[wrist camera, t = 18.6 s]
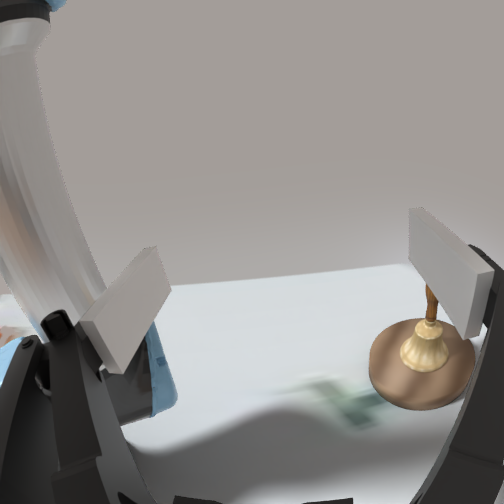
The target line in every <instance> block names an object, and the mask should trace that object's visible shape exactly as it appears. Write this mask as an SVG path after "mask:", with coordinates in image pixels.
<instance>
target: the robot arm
mask: <svg viewBox="0 0 504 504" xmlns="http://www.w3.org/2000/svg"><path fill="white" fill-rule="evenodd" d="M65 3H66V0H0V273H1V275H2V276H3V278H4V280H5V282H6V284H7V286H8V287H9V289H10V291H11V292H12V294H13V296H14V297H15V299H16V301H17V302H18V304H19V306H20V307H21V309H22V310H23V312H24V313H25V315H26V317H27V318H28V320H29V321H30V323H31V324H32V326H33V327H34V328H35V330H36V331H37V333H38V334H39V336H40V337H41V338H42V341H40V339H39V337H38V336H37V335H31V336H29V337H28V336H27V337H19V338H16V339H14V340H12V341H10V342H9V343H7V344H6V345H4V346H3V347H2V348H0V504H157V503H156V502H155V501H154V499H153V498H152V497H151V495H150V493H149V491H148V489H147V487H146V485H145V483H144V481H143V479H142V477H141V475H140V473H139V470H138V468H137V466H136V464H135V462H134V459H133V457H132V455H131V452H130V450H129V448H128V445H127V443H126V440H125V438H124V435H123V433H122V430H121V427H120V426H122V425H126V424H129V423H133V422H136V421H139V420H142V419H145V418H151V417H154V416H155V415H156V414H157V413H160V412H162V411H164V410H167V409H169V408H171V407H173V406H174V405H175V403H176V401H177V398H178V394H177V390H176V387H175V384H174V381H173V378H172V375H171V372H170V369H169V366H168V364H167V361H166V358H165V354H164V352H163V348H162V345H161V342H160V338H159V335H158V332H157V329H156V326H155V323H154V319H155V317H156V316H157V314H158V312H159V310H160V309H161V307H162V305H163V304H164V302H165V300H166V299H167V297H168V295H169V294H170V292H171V287H170V285H169V282H168V279H167V276H166V274H165V271H164V268H163V265H162V262H161V259H160V256H159V253H158V250H157V248H156V246H155V247H149V248H144V249H143V250H142V251H141V252H140V253H139V254H138V255H137V256H136V257H135V258H134V260H133V261H132V262H131V263H130V264H129V265H128V266H127V267H126V268H125V269H124V270H123V271H122V272H121V274H120V275H119V276H118V277H117V278H116V279H115V280H114V281H113V282H112V283H111V285H110V286H109V287H108V288H107V287H106V285H105V283H104V281H103V279H102V277H101V274H100V272H99V270H98V268H97V265H96V263H95V261H94V259H93V256H92V254H91V252H90V249H89V247H88V244H87V242H86V240H85V237H84V235H83V232H82V230H81V227H80V224H79V222H78V219H77V217H76V214H75V211H74V208H73V206H72V203H71V200H70V197H69V194H68V191H67V188H66V185H65V182H64V179H63V176H62V173H61V170H60V166H59V163H58V160H57V156H56V153H55V149H54V146H53V142H52V138H51V134H50V130H49V126H48V122H47V118H46V113H45V108H44V104H43V99H42V94H41V88H40V83H39V77H38V71H37V64H36V57H35V55H36V53H37V50H38V49H39V47H40V46H41V45H42V43H43V42H44V40H45V39H46V38H47V36H48V35H49V33H50V18H49V12H50V11H51V12H55V11H57V10H58V9H59V8H60V7H62V6H63V5H65ZM409 260H410V261H411V263H412V264H413V265H414V267H415V268H416V270H417V271H418V272H419V274H420V275H421V277H422V278H423V279H424V281H425V282H426V284H427V285H428V287H429V288H430V289H431V291H432V292H433V294H434V295H435V297H436V298H437V300H438V301H439V303H440V304H441V306H442V307H443V309H444V310H445V312H446V313H447V315H448V317H449V318H450V320H451V321H452V323H453V325H454V326H455V328H456V329H457V331H458V333H459V334H460V336H461V338H462V339H463V340H465V339H469V338H472V337H476V336H479V334H480V331H481V327H482V324H483V323H484V324H485V326H486V327H487V333H486V336H485V339H484V342H483V345H482V348H481V351H480V352H481V354H480V357H479V360H478V363H477V367H476V370H475V373H474V376H473V378H472V381H471V384H470V387H469V390H468V392H467V395H466V397H465V400H464V402H463V405H462V407H461V410H460V412H459V415H458V417H457V419H456V421H455V424H454V426H453V428H452V430H451V432H450V435H449V437H448V439H447V441H446V443H445V445H444V447H443V449H442V451H441V453H440V454H439V456H438V458H437V460H436V462H435V464H434V466H433V467H432V469H431V471H430V473H429V474H428V476H427V478H426V479H425V481H424V483H423V484H422V486H421V488H420V489H419V491H418V492H417V494H416V495H415V497H414V498H413V499H412V501H411V502H410V503H409V504H494V502H495V499H496V497H497V495H498V492H499V490H500V488H501V485H502V483H503V480H504V465H503V460H504V270H503V269H502V268H501V267H499V266H498V265H497V264H496V263H495V262H494V261H493V260H491V258H489V256H486V254H485V253H484V252H483V251H482V250H480V249H479V248H477V247H475V246H473V245H467V244H466V243H465V242H463V241H462V240H461V239H460V238H459V237H458V236H456V235H455V234H454V233H453V232H452V231H451V230H450V229H448V228H447V227H446V226H445V225H444V224H442V223H441V222H440V221H439V220H437V219H436V218H435V217H434V216H432V215H431V214H430V213H429V212H427V211H426V210H425V209H424V208H422V207H421V208H413V209H409ZM173 504H222V503H219V502H216V501H211V500H202V499H194V498H187V497H181V496H175V498H174V501H173ZM303 504H353V498H347V499H339V500H330V501H320V502H307V503H303Z"/></svg>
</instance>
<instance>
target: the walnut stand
mask: <svg viewBox="0 0 504 504" xmlns="http://www.w3.org/2000/svg"><path fill="white" fill-rule="evenodd" d="M424 319H426V318H418V319H409V320H405V321H401V322H398V323H396V324H394V325H392V326H390V327H388V328H386V329H385V330H384V331H382V332H381V333H380V334H379V335H378V336H377V338H376V339H375V341H374V342H373V344H372V347H371V350H370V358H369V377H370V380H371V383H372V385H373V387H374V388H375V390H376V391H377V392H378V393H379V394H380V395H381V396H382V397H383V398H384V399H385V400H387V401H388V402H390V403H392V404H394V405H396V406H398V407H401V408H404V409H409V410H419V411H422V410H431V409H436V408H439V407H442V406H444V405H447V404H449V403H450V402H452V401H453V400H455V399H456V398H457V397H458V396H459V395H460V394H461V393H462V392H463V391H464V389H465V388H466V386H467V384H468V381H469V379H470V376H471V374H472V371H473V369H474V365H475V351H474V348H473V346H472V343H471V342H470V340H469V339H465V340H463V339H462V338H461V336H460V334H459V333H458V331H457V329H456V328H455V326H453V325H451V324H448V323H446V322H443V321H440V320H436V321H438V322H439V323H440V324H441V325H442V327H443V336H442V339H443V341H444V343H445V344H446V346H447V348H448V353H449V355H448V359H447V362H446V363H445V364H444V365H443V366H442V367H441V368H440V369H438V370H435V371H432V372H426V373H424V372H417V371H414V370H411V369H410V368H408V367H407V366H406V365H405V364H404V363H403V362H402V360H401V358H400V348H401V346H402V344H403V343H404V342H405V341H406V340H407V339H408V338H410V337H412V335H413V333H414V330H415V327H416V325H417V323H418V322H420V321H421V320H424Z"/></svg>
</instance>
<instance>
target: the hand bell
mask: <svg viewBox="0 0 504 504" xmlns="http://www.w3.org/2000/svg"><path fill="white" fill-rule="evenodd" d="M426 297H427V303H428V305H427V311H426V316H425V318H426V319H424V320H421V321H420V322H418V323H417V325H416V327H415V330H414V333H413V335H412V337H410V338H408V339H407V340H406V341H405V342H404V343H403V344H402V346H401V348H400V358H401V360H402V362H403V363H404V364H405V365H406V366H407V367H408V368H410V369H411V370H414V371H417V372H424V373H426V372H432V371H435V370H438V369H440V368H441V367H442V366H443V365H444V364H445V363H446V362H447V359H448V355H449V353H448V348H447V346H446V344H445V343H444V341H443V339H442V336H443V327H442V325H441V324H440V323H439V322H438V321H436V315H437V306H438V302H439V301H438V300H437V298H436V297H435V295H434V294H433V292H432V291H431V289H430V288H429V287H428V285H427V284H426Z"/></svg>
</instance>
